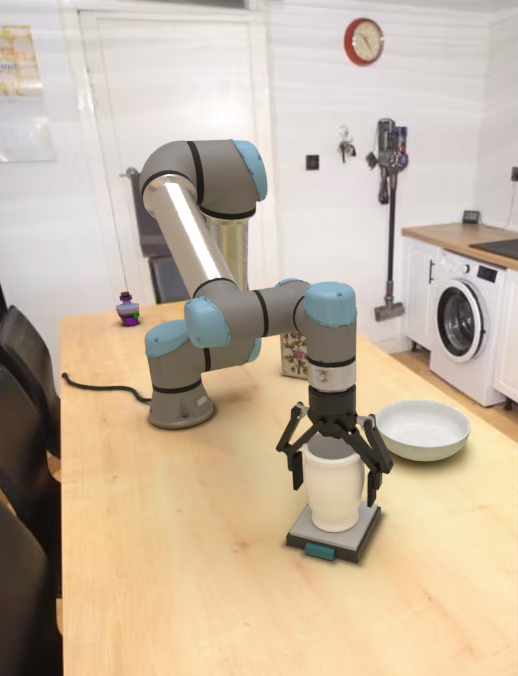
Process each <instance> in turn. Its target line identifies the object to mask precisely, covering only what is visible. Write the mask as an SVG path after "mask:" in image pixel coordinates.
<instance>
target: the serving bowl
mask: <svg viewBox="0 0 518 676" xmlns="http://www.w3.org/2000/svg"><path fill="white" fill-rule="evenodd" d="M375 417H376V426H377V428H378V430H379V433H380V435H381V437H382V439H383V441H384V443H385V445H386V447H387V449H388V451H389V452H391V453H393V454H395V455H396V456H399V457H401V458H404V459H408V460H411V461H417V462H435V461H440V460H444V459H447V458H449V457H451V456H453V455H455V454H456V453H458V452H459V451H461V450H462V449H463V447H464V446H465V445H466V443H467V441H468V439H469V436H470V433H471V431H472V425H471V421H470V419H469V418H468V416H467V415H466V414H465V413H464V412H462V411H461V410H460V409H458V408H456V407H454V406H453V405H450V404H447V403H444V402H440V401H436V400H431V399H422V398H421V399H419V398H417V399H415V398H414V399H412V398H411V399H403V400H402V399H401V400H398V401H394V402H391V403H389V404H386V405H385V406H383V407H382V408H380V409H379V410H378V411H377V412H376V414H375Z"/></svg>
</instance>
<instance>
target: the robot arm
mask: <svg viewBox="0 0 518 676" xmlns="http://www.w3.org/2000/svg"><path fill="white" fill-rule="evenodd" d="M138 188H139V196H140V198H141V201H142V204H143V206H144V209H145V211H146V212H147V213H148V215H150V216H151V217H152V218H153V219H155V220H156V222H157V224H158V227H159V229H160V231H161V234H162V236H163V238H164V240H165V243H166V246H167V247H168V249H169V252H170V255H171V257H172V259H173V260H174V263H175V265H176V268H177V270H178V273H179V276H180V278H181V280H182V282H183V284H184V287H185V289H186V291H187V293H188V295H189V298H190V299H187V301H186V302H185V303H184V305H183V316H184V317H183V318H184V319H173V320H168V321H163V322H161V323H159V324H157V325H154V326H153V327H152V328H150V329H149V330H148V331H147V332H146V333H145V336H144V347H145V348H144V350H145V351H144V354H145V356H146V359H147V365H148V370H149V376H150V382H151V387H152V392H151V393H152V394H151V397H147V398H146V397H142V396H141V395H140V394H139V393H138V391H137V390H136V389H135V388H134V387H131V386H127V385H89V384H82V383H78V382H75V381H73V380H71V379H70V377H69V376H68V373H67V372H63V373H62V374H61V377H62V378H63V377H64V379H65V381H66V382H67V383H68V384H69V385H71V386H74V387H77V388H82V389H90V390H98V391H100V390H101V391H105V390H127V391H130V392H132V393H133V395H134V397H135V398H136V399H137V400H139V401H140V402H143V403H150V406H149V411H148V415H149V420H150V422H151V424H153V425H154V426H155V427H158V428H160V429H166V430H180V429H187V428H191V427H194V426H197V425H198V426H199V425H200V424H202V423H204V422H205V421H207V420H209V419H210V418H211V417H212V415H213V413H214V403H213V400H212V399H211V398H210V396H209V395H208V392H207V390H206V388H205V386H204V384H203V378H202V374H203V373H208V372H213V371H218V370H224V369H228V368H229V369H230V368H233V367H234V368H235V367H241V366H244V365H246V364H250V363H253V362H255V361H256V360H257V359H258V357H259V356H260V353H261V350H262V339H263V338H270V337H274V336H280V334H286V333H291V332H298V333H300V334H301V335H302V336H304V337H306V346H307V367H308V379H307V383H308V387H307V393H308V394H307V395H308V406H307V405H305V404H304V402H303V401H300V400H299V401H298V402H296V403H295V404H294V405H293V406H292V407H291V409H290V418H289V420H288V422H287V425H286V426H285V429H284V430H283V432H282V435H281V436H280V439H279V440H278V442H277V444H276V447H275V451H276V452H278V453H283V454H284V455H285V456H286V462H287V463H286V464H287V470H288V472H291V473H292V474H291V475H292V490H293V491H297V492H298V490H299V489H300V488H301V487H302V485H303V484H304V475H303V472H304V461H303V459H304V458H303V451H301V450H300V449H302V446H303V444H305V443H306V442H307V441H308V440H309V439H310V438H311V437H313V436H314V435H315V434H316V433H317V432H319V433H320V434H322V436H324V437H333V438H335V439H340V438H342V439H343V440H344V441H345V442H346V444H348V445H350V446H351V447H352V448H353V449H354V451H355V452H356V453H357V454H359V455H360V458H361V460H362V461H363V462H364V466H366V467H367V468H368V470H369V471H368V473H367V479H366V481H367V483H366V485H367V487H366V498H367V499H366V502H367V507H370V508H372V506H373V504H375V502H376V500H377V491H379V490H380V488H381V487H382V485H383V474H385V475H389V474H391V471H392V470H393V467H394V466H395V462H394V460H393V458H392V455H391V453H390V450H389V449H388V448H387V447H386V445H385V443H384V441H383V439H382V437H381V435H380V433H379V430H378V428H377V426H376V414H374V413H369V414H368V415H358V412H357V385H356V383H357V332H358V331H357V329H358V328H357V327H358V326H357V325H358V324H357V321H358V309H357V301H356V300H357V298H356V296H357V295H356V291H355V289H354V288H353V287H352V286H351V284H347V283H344V282H338V281H319V282H315V283H310V282H308V281H305V280H303V279H299V278H295V277H288V278H284V279H282V280H280V281H279V282H278V283H276V284H275V285H274V286H273V287H272V286H271V287H266V288H259V289H252V290H248V278H249V277H248V275H249V273H248V272H249V220H251V219H252V218H253V217H254V216H255V215H256V213H257V202H258V203H261V202H262V201H265V200H266V198H267V196H268V190H269V189H268V177H267V171H266V167H265V164H264V161H263V158H262V155H261V153H260V151H259V150H258V148H257V147H256V146H255V144H254V143H253V142H251V141H249V140H243V139H242V140H239V139H233V138H228V139H207V140H206V139H205V140H203V139H202V140H200V139H199V140H173V141H169V142H167V143H165V144H162V145H161V146H159V147H158V148H156V149H155V150H154V151H153V152H152V153H151V154H150V155H149V156H148V157H147V159H146V161H145V162H144V164H143V167H142V169H141V171H140V175H139V182H138ZM204 217H205V218H206V220H205V218H204ZM306 416H307V418H308V420H309V421H310V422H311V424H312V425H311V426H310V427H309V428H308V429H307V430H306V431H305V432H304V433H303V434H302V435H301V436H299V437H298V438H297V440H295V442H293V443H292V444H291V443H290V441H291V440H292V437H293V435H294V434H295V432H296V430H297V428H298V426H299V424H300V422H301V420H302V419H304V417H306ZM357 425H359V427H360V428H361V431H363V432H364V435H365V438H366V440H367V441H366V440H365V438H364V437H363V436H362V434H361V431H360V430H359V428H358V427H357ZM349 432H351V435H349Z"/></svg>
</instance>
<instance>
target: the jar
mask: <svg viewBox="0 0 518 676" xmlns="http://www.w3.org/2000/svg"><path fill="white" fill-rule="evenodd" d="M349 435H351V432H349ZM301 449H302V456H303V457H304V461H303V479H304V482H303V484H304V489H305V492H306V496H307V503H308V504H309V505H310V507H311V509H312V511H313V512H312V521H313V523H314V524H315V526H317V527H318V528H319V529H321V530H324V531H327V532H341V531H345V530H347V529H349V528H351V527H353V526H354V525H355V524H356V522H357V521H358V518H359V513H358V510H357V509H358V507H359V505H360V502H361V501H362V496H363V492H364V487H365V480H366V479H365V477H366V469H365V463H364V462H363V461H362V460H361V458H360V455H359V454H357V453H356V452H355V451H354V449H353V448H352V447H351V446H350V445H348V444H346V442H345V441H344V440H343V439H342V438H340V439H335V438H333V437H324V436H322V434H320V433H319V432H317V433H316V434H315V435H314V436H313V437H311V438H310V439H309V440H308V441H307V442H306V443H305V444H303V446H302V447H301Z"/></svg>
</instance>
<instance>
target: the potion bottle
mask: <svg viewBox="0 0 518 676" xmlns="http://www.w3.org/2000/svg"><path fill="white" fill-rule="evenodd" d="M132 300H133V295H132V294H130V291H122V292H120V295H119V301H120V302H122V303H120V304H118V305H115V310H116V313H117V315H118V317H119V318H120V320H121V322H122V326H123V327H127V328H128V327H136V326H137V325H139V317H140V315H141V314H140V303H137V302H131V301H132Z"/></svg>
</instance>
